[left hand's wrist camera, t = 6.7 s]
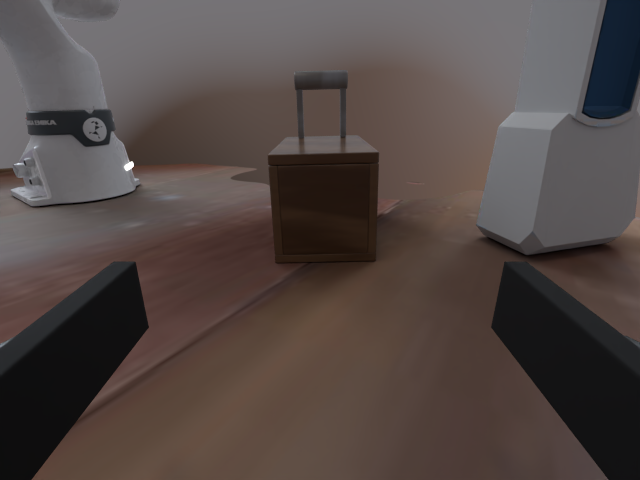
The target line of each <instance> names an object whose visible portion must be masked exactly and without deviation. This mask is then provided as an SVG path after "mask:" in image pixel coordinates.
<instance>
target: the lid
mask: <svg viewBox="0 0 640 480" xmlns="http://www.w3.org/2000/svg"><path fill="white" fill-rule="evenodd" d="M294 81H295V90H296V91H297V113H298V137H286V138H285V139H284V140H283V141H282V142H281V143H280V144H279V145H278V146H277V147H276V148H275V149H274V150H273V151H272V152H270V153H269V154H268V165H308V164H349V163H378V162H379V152H378V151H377V150H376V149H374V148H373V147H372V146H370V145H369V144H368V143H367V142H365V141H364V140H363V139H362V138H360V137H359V136H357V135H356V136H346V89H347V84H348V74H347V70H336V71H299V72H294ZM318 89H340V136H316V137H304V118H303V91H302V90H318Z"/></svg>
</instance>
